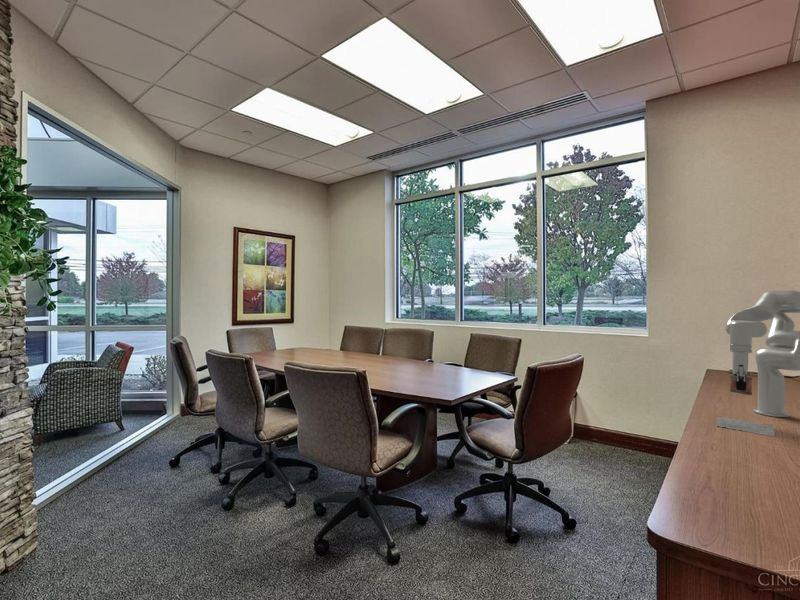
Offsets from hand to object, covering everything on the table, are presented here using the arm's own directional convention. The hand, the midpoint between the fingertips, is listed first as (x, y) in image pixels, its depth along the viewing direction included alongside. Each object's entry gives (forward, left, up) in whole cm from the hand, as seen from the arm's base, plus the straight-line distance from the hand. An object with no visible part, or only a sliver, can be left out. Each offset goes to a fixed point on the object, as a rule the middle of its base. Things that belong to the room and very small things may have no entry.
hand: (740, 388), depth 179 cm
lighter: (0, 0, -2) cm, 2 cm away
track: (+13, +1, -14) cm, 20 cm away
